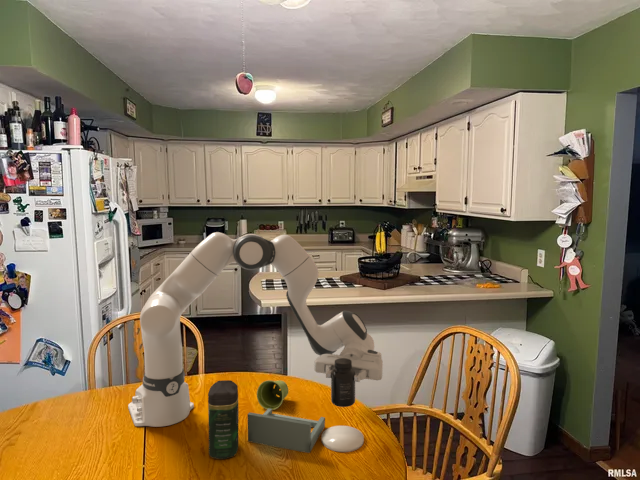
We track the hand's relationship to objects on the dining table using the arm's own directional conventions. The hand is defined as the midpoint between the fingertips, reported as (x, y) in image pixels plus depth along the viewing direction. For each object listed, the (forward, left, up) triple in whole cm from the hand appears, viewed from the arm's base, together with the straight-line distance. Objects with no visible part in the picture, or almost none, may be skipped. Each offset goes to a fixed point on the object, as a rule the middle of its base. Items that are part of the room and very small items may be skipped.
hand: (342, 377), depth 123 cm
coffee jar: (-18, -27, -19) cm, 38 cm away
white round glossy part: (0, +1, -19) cm, 19 cm away
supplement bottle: (0, +1, -8) cm, 8 cm away
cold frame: (-13, -9, -19) cm, 25 cm away
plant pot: (-33, +4, -16) cm, 37 cm away
